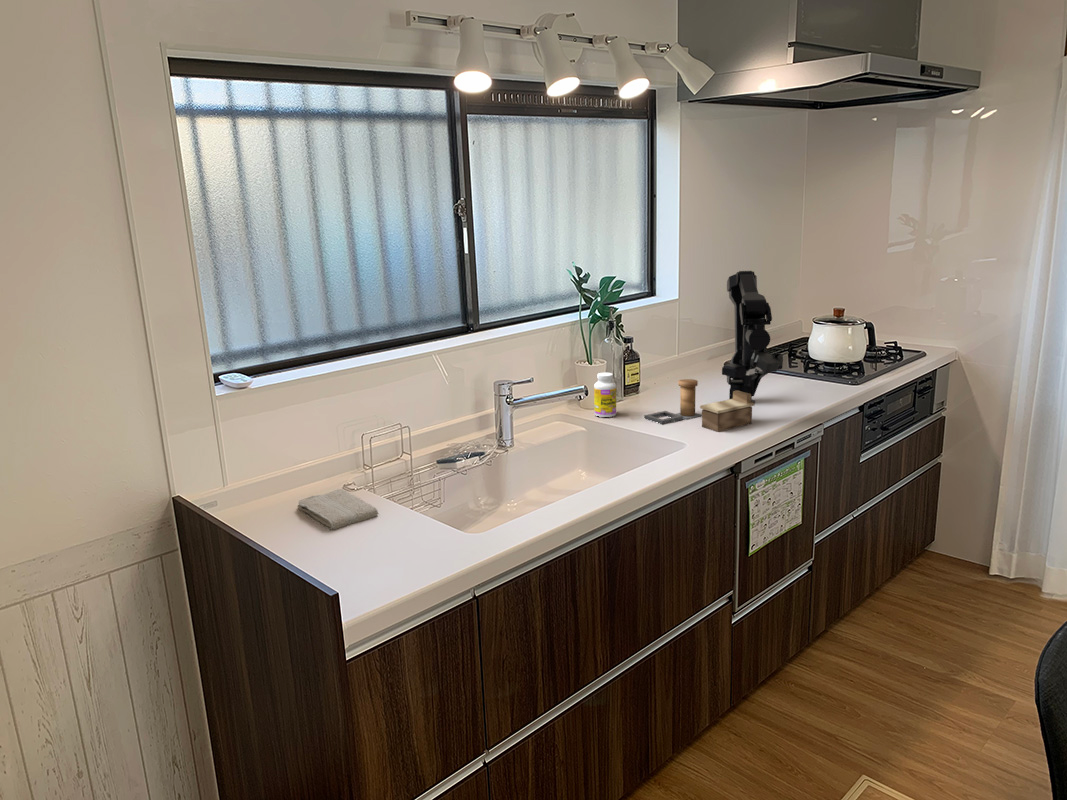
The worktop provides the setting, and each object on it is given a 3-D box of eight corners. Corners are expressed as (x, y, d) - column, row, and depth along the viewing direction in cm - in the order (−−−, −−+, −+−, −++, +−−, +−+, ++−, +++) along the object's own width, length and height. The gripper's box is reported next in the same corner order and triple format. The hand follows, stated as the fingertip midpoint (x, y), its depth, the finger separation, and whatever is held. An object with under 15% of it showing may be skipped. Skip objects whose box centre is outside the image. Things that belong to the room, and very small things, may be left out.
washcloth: (341, 497, 194) (340, 484, 193) (381, 517, 181) (380, 504, 180) (293, 510, 187) (292, 498, 186) (331, 533, 173) (330, 519, 173)
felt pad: (688, 411, 252) (688, 410, 252) (702, 416, 247) (702, 415, 247) (673, 415, 249) (673, 414, 249) (686, 419, 244) (686, 418, 244)
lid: (736, 400, 242) (736, 389, 241) (754, 405, 236) (754, 394, 235) (700, 408, 235) (700, 397, 234) (717, 413, 229) (718, 402, 228)
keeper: (665, 413, 251) (665, 410, 250) (682, 419, 244) (682, 416, 244) (644, 418, 247) (644, 415, 246) (661, 424, 240) (661, 421, 240)
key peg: (688, 411, 252) (688, 378, 249) (701, 414, 247) (701, 381, 245) (674, 414, 249) (674, 380, 246) (687, 417, 244) (687, 383, 242)
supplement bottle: (598, 419, 248) (598, 377, 244) (591, 413, 254) (590, 372, 251) (619, 416, 249) (619, 375, 246) (611, 411, 256) (611, 370, 252)
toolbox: (735, 418, 243) (736, 402, 241) (751, 423, 237) (752, 406, 236) (701, 426, 236) (702, 409, 235) (717, 431, 231) (717, 414, 230)
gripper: (750, 351, 224) (748, 407, 228) (798, 342, 233) (796, 396, 237) (721, 345, 234) (720, 399, 237) (768, 337, 243) (766, 389, 247)
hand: (751, 396), depth 239 cm, fingers closed
